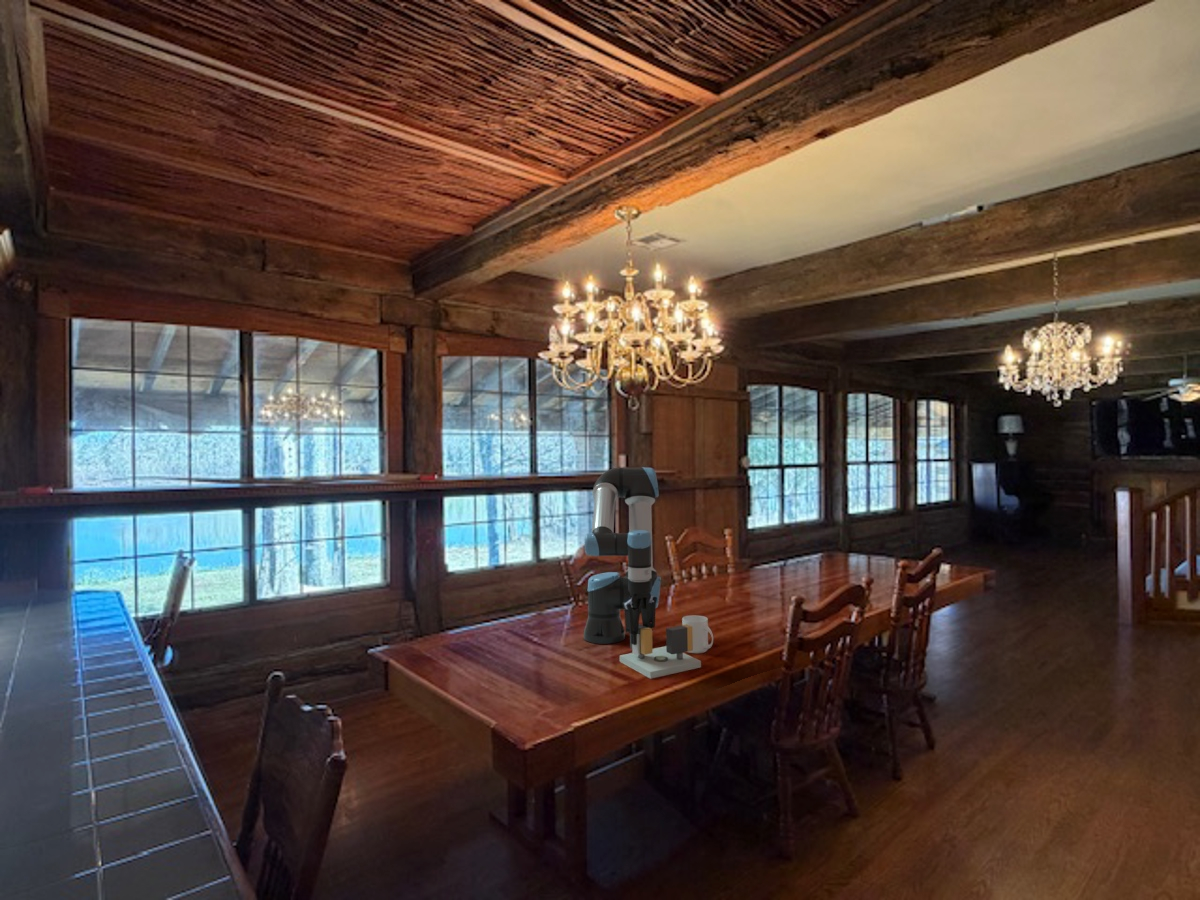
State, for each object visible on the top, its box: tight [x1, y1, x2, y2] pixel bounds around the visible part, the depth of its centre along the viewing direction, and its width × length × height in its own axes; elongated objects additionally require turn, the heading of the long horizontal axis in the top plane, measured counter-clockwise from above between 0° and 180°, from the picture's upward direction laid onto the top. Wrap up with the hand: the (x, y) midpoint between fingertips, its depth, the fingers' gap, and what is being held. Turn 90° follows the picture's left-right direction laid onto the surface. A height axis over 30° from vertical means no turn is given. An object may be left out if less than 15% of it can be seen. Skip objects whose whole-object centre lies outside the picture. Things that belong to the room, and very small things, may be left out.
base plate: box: [619, 645, 702, 680], centre depth 203 cm, size 18×19×3 cm
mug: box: [681, 615, 714, 654], centre depth 216 cm, size 9×12×11 cm
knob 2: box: [665, 624, 693, 659], centre depth 202 cm, size 8×3×10 cm, turn 119°
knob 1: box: [629, 623, 654, 659], centre depth 203 cm, size 8×3×10 cm, turn 32°
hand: (640, 652), depth 203 cm, fingers closed on knob 1, 3 cm apart
